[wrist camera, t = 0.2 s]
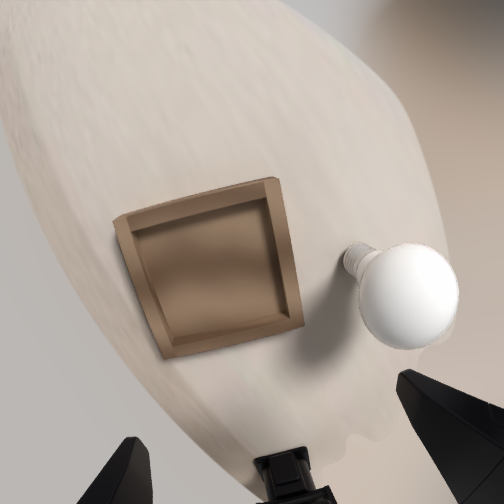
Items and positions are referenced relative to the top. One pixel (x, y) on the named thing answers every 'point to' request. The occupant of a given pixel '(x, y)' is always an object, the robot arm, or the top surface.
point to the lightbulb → (404, 293)
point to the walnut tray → (213, 267)
